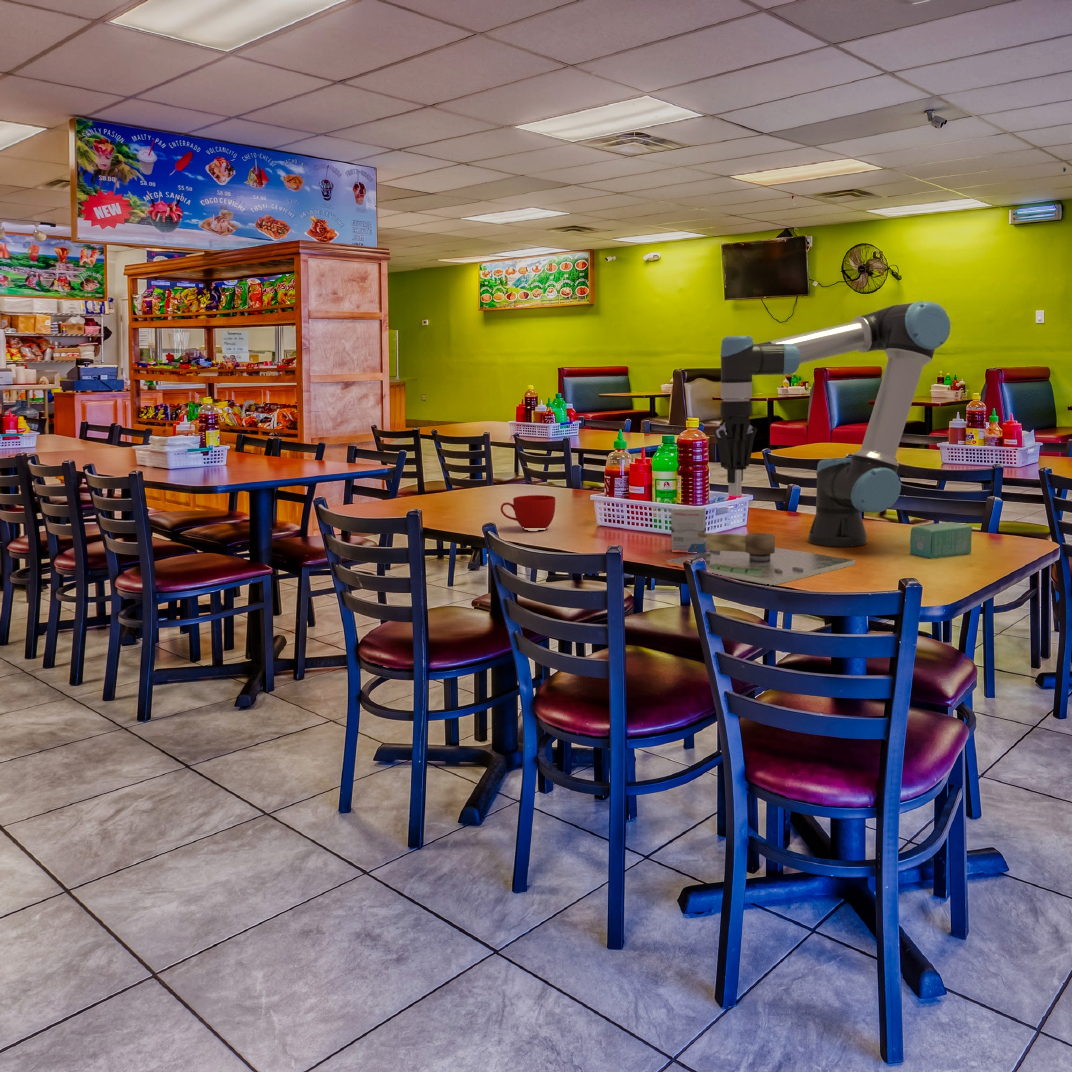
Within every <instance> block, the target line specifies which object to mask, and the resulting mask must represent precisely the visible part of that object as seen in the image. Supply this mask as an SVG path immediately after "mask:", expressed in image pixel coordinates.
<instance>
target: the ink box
mask: <svg viewBox="0 0 1072 1072" xmlns="http://www.w3.org/2000/svg"><path fill="white" fill-rule="evenodd" d="M706 510H707V508H706V507H703V506H702V507H699V506H698V507H695V506H693V507H692V506H691V507H690V506H675V507H673V508H672V509H670V511H671V512H670V515H671V516H670V517H671V519H670V521H671V522H670V524H671V525H670V528H671V529H670V530H671V532H670V533H671V537H670V538H671V541H670V542H671V544H670V545H671V550H680V551H688V552H697V553H705V552H706V551H707V550H706V538H698V533H707V527H706V526H707V522H706V521H707V519H706V517H707V514H706V512H707V511H706ZM705 550H706V551H705ZM697 553H696V554H697Z"/></svg>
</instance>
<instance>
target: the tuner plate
mask: <svg viewBox="0 0 1072 1072" xmlns="http://www.w3.org/2000/svg"><path fill="white" fill-rule="evenodd" d="M687 558H703V559H704V560H705V562H706V568H707V570H709V571H710V572H712V573H716V574H718V575H717V576H720V575H722V576H721V577H725V578H730V577H731V578H732V579H737V580H743V581H747V582H751V583H752V582H753V583H756V584H763V585H767V584H769V585H768V586H772V585H774V586H777V585H781V584H785V583H789V582H792V581H797V580H800V579H804V578H808V577H812V575H813V576H816V575H817V576H818V575H820V574H824V573H828V572H832V571H835V570H840V569H842V568H848V567H851V566H855V564H856V563H855V561H856V560H855V559H851V558H845V557H839V556H832V555H825V554H819V553H818V554H817V553H814V552H807V551H801V550H800V551H799V550H793V549H787V548H780V547H775V553H772V554H764V555H759V554H749V553H746V552H736V551H713V550H709V551H705V552H704V553H699V554H697V553H695V554H692V555H687V556H682V557H675V558H672V559H667V560H666V563H667V562H671V563H676V564H680V565H683V561H684V560H686V559H687ZM819 573H820V574H819Z"/></svg>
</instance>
